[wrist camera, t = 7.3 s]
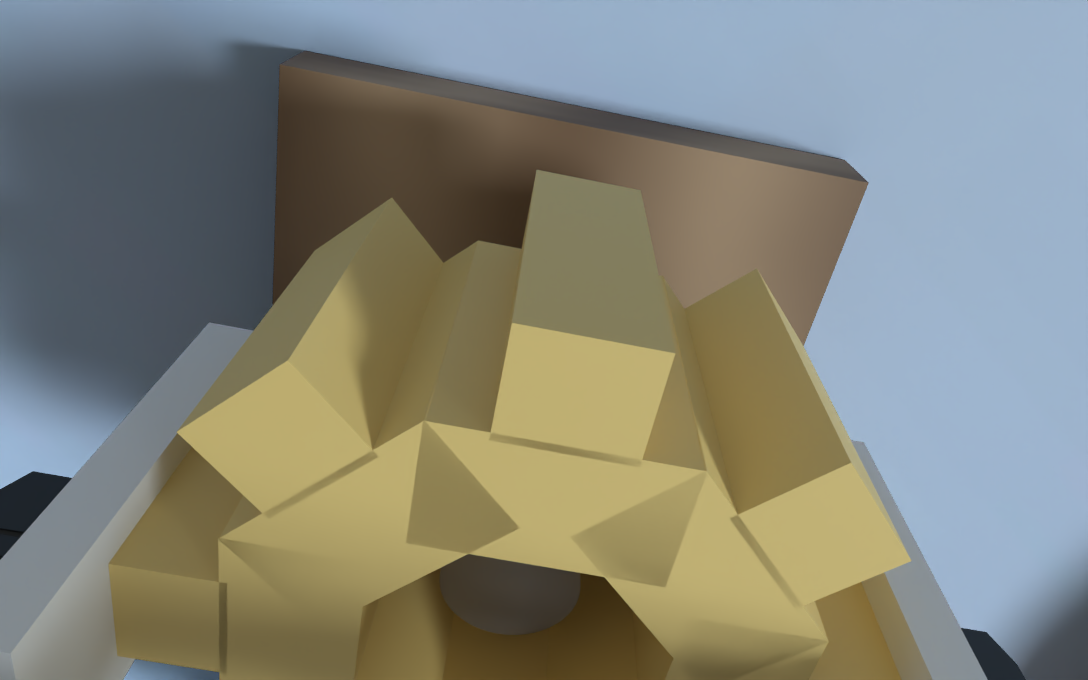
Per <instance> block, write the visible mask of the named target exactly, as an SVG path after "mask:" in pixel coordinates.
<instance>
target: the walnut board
mask: <svg viewBox="0 0 1088 680" xmlns="http://www.w3.org/2000/svg"><path fill="white" fill-rule="evenodd" d="M536 170H541V171H546V172H551V173H556V174H561V175H566V176H571V177H576V178H581V179H586V180H591V181H596V182H601V183H606V184H611V185H616V186H621V187H626V188H631V189H636V190H641V194H642V199H643V204H644V208H645V213H646V218H647V222H648V227H649V232H650V236H651V241H652V246H653V251H654V255H655V260H656V265H657V269H658V274H659V275H660V276H664V278H665V280H666V282H667V283H668V285H669V286H670V288H671V289H672V291H673V292H674V294H675V295H676V297H677V298H678V300H679V301H680V303H681V304H682V306H683V307H684V309H685V308H687V307H689V306H690V305H692V304H694V303H696V302H698V301H699V300H701V299H703V298H705V297H707V296H708V295H710V294H712V293H714V292H716V291H717V290H719V289H721V288H723V287H725V286H726V285H728V284H730V283H732V282H734V281H735V280H737V279H739V278H741V277H743V276H744V275H746V274H748V273H750V272H751V271H753V270H755V269H758V271H759V273H760V274H761V276H762V278H763V279H764V281H765V283H766V284H767V286H768V288H769V289H770V291H771V293H772V294H773V296H774V298H775V299H776V301H777V303H778V304H779V306H780V308H781V309H782V311H783V313H784V314H785V316H786V318H787V319H788V321H789V323H790V324H791V326H792V328H793V329H794V331H795V333H796V334H797V336H798V338H799V340H800V341H801V343H802V345H803V346H804V343H805V341H806V338H807V336H808V333H809V331H810V328H811V326H812V323H813V321H814V318H815V316H816V313H817V311H818V308H819V306H820V303H821V301H822V298H823V296H824V293H825V291H826V288H827V286H828V283H829V281H830V278H831V276H832V273H833V271H834V268H835V266H836V263H837V261H838V258H839V256H840V253H841V251H842V248H843V246H844V243H845V241H846V238H847V236H848V233H849V230H850V228H851V225H852V223H853V220H854V218H855V215H856V213H857V210H858V208H859V205H860V203H861V200H862V198H863V195H864V193H865V190H866V188H867V185H868V182H867V181H866V180H865V179H864V178H863V177H862V176H861V175H860V174H859V173H858V172H857V171H856V170H855V169H854V168H853V167H852V166H851V165H849V164H848V163H847V162H846V161H845V160H842V159H837V158H832V157H827V156H822V155H817V154H812V153H807V152H802V151H797V150H792V149H787V148H783V147H778V146H773V145H768V144H763V143H758V142H753V141H748V140H743V139H738V138H733V137H728V136H723V135H718V134H713V133H708V132H703V131H699V130H694V129H689V128H684V127H679V126H674V125H669V124H664V123H659V122H654V121H649V120H644V119H639V118H634V117H629V116H624V115H619V114H615V113H610V112H605V111H600V110H595V109H590V108H585V107H580V106H575V105H570V104H565V103H560V102H555V101H550V100H545V99H540V98H535V97H531V96H526V95H521V94H516V93H511V92H506V91H501V90H496V89H491V88H486V87H481V86H476V85H471V84H466V83H461V82H456V81H451V80H446V79H442V78H437V77H432V76H427V75H422V74H417V73H412V72H407V71H402V70H397V69H392V68H387V67H382V66H377V65H372V64H367V63H362V62H358V61H353V60H348V59H343V58H338V57H333V56H328V55H323V54H318V53H313V52H308V51H303V52H301V53H300V54H298V55H296V56H294V57H292V58H290V59H289V60H287V61H285V62H283V63H281V64H280V71H279V105H278V139H277V173H276V206H275V240H274V274H273V305H274V303H275V302H276V301H277V299H278V298H279V297H280V295H281V294H282V293H283V292H284V290H285V289H286V288H287V286H288V285H289V284H290V282H291V281H292V280H293V278H294V277H295V276H296V274H297V273H298V272H299V271H300V269H301V268H302V267H303V265H304V264H305V263H306V261H307V260H308V259H309V257H310V256H311V255H312V254H313V252H314V251H315V250H316V249H318V248H319V247H321V246H322V245H324V244H325V243H327V242H328V241H329V240H331V239H332V238H334V237H335V236H337V235H338V234H340V233H341V232H342V231H344V230H345V229H347V228H348V227H350V226H351V225H353V224H354V223H356V222H357V221H358V220H360V219H361V218H363V217H364V216H366V215H367V214H369V213H370V212H371V211H373V210H374V209H376V208H377V207H379V206H380V205H382V204H383V203H385V202H386V201H387V200H389V199H390V198H393V199H394V201H395V202H396V203H397V204H398V206H399V207H400V208H401V209H402V211H403V212H404V213H405V215H406V216H407V217H408V218H409V220H410V221H411V222H412V223H413V225H414V226H415V227H416V229H417V230H418V231H419V232H420V234H421V235H422V236H423V237H424V239H425V240H426V241H427V242H428V244H429V245H430V246H431V248H432V249H433V250H434V251H435V253H436V254H437V255H438V256H439V258H440V259H441V260H442V262H443V263H444V262H446V261H447V260H449V259H450V258H452V257H453V256H455V255H457V254H458V253H460V252H461V251H463V250H464V249H466V248H467V247H469V246H471V245H472V244H474V243H475V242H477V241H478V240H479V241H483V242H489V243H494V244H499V245H504V246H509V247H514V248H520V249H522V244H523V238H524V233H525V228H526V223H527V217H528V212H529V207H530V202H531V196H532V191H533V186H534V181H535V176H536ZM439 582H440V589H441V593H442V595H443V598H444V600H445V602H446V603H447V605H448V606H449V607H450V609H451V610H452V611H453V612H454V613H455V614H456V615H457V616H459V617H460V618H461V619H463V620H464V621H465V622H467V623H469V624H471V625H473V626H475V627H477V628H479V629H482V630H485V631H488V632H492V633H497V634H505V635H523V634H530V633H535V632H539V631H542V630H545V629H547V628H550V627H552V626H554V625H555V624H557V623H559V622H560V621H562V620H563V619H564V618H565V617H566V616H567V615H568V614H569V613H570V612H571V611H572V610H573V608H574V606H575V605H576V603H577V601H578V598H579V594H580V573H578V572H572V571H566V570H560V569H554V568H548V567H542V566H537V565H531V564H525V563H519V562H513V561H507V560H501V559H496V558H490V557H484V556H478V555H472V554H467V555H465V556H463V557H461V558H459V559H457V560H455V561H453V562H451V563H449V564H447V565H445V566H443V567H441V571H440V579H439Z"/></svg>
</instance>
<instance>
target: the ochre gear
mask: <svg viewBox="0 0 1088 680" xmlns="http://www.w3.org/2000/svg"><path fill="white" fill-rule="evenodd" d="M177 433H178V434H179V435H180V436H181V437H182V438H183V439H184V440H185V441H186V442H187V443H189V444H190V445H191V446H192V447H191V449H190V450H189V451H188V453H187V454H186V456H185V457H184V458H183V460H182V461H181V463H180V464H179V465H178V467H177V468H176V470H175V471H174V472H173V474H172V475H171V477H170V478H169V479H168V481H167V482H166V484H165V485H164V486H163V488H162V489H161V491H160V492H159V493H158V495H157V496H156V498H155V499H154V500H153V502H152V503H151V505H150V506H149V507H148V509H147V510H146V512H145V513H144V515H143V516H142V517H141V519H140V520H139V522H138V523H137V524H136V526H135V527H134V529H133V530H132V531H131V533H130V534H129V536H128V537H127V538H126V540H125V541H124V543H123V544H122V545H121V547H120V548H119V550H118V551H117V552H116V554H115V555H114V557H113V558H112V559H111V561H110V562H109V564H108V566H109V576H110V586H111V597H112V607H113V617H114V627H115V637H116V647H117V656H120V657H127V658H133V659H139V660H146V661H152V662H158V663H164V664H171V665H177V666H183V667H190V668H196V669H202V670H208V671H215V672H219V680H901V677H900V675H899V672H898V670H897V668H896V665H895V663H894V660H893V658H892V656H891V653H890V651H889V648H888V646H887V643H886V641H885V639H884V636H883V634H882V631H881V629H880V626H879V624H878V622H877V619H876V617H875V614H874V612H873V610H872V607H871V605H870V602H869V600H868V597H867V595H866V593H865V590H864V588H863V585H862V583H861V582H862V581H864V580H867V579H869V578H872V577H874V576H877V575H879V574H881V573H884V572H886V571H889V570H891V569H894V568H896V567H898V566H901V565H903V564H906V563H908V562H911V559H910V557H909V555H908V553H907V551H906V549H905V547H904V545H903V543H902V541H901V539H900V537H899V535H898V533H897V531H896V529H895V527H894V525H893V523H892V521H891V519H890V517H889V515H888V513H887V511H886V509H885V507H884V505H883V503H882V501H881V499H880V497H879V495H878V493H877V491H876V489H875V487H874V485H873V483H872V481H871V479H870V477H869V475H868V473H867V472H866V470H865V468H864V466H863V464H862V462H861V460H860V458H859V456H858V454H857V452H856V450H855V448H854V446H853V444H852V442H851V440H850V438H849V436H848V434H847V432H846V430H845V428H844V426H843V424H842V422H841V420H840V418H839V416H838V414H837V412H836V410H835V408H834V406H833V404H832V402H831V400H830V398H829V396H828V394H827V392H826V390H825V388H824V386H823V384H822V382H821V380H820V378H819V376H818V374H817V372H816V371H815V369H814V367H813V365H812V363H811V361H810V359H809V357H808V355H807V353H806V351H805V349H804V347H803V345H802V343H801V341H800V340H799V338H798V336H797V334H796V333H795V331H794V329H793V328H792V326H791V324H790V323H789V321H788V319H787V318H786V316H785V314H784V313H783V311H782V309H781V308H780V306H779V304H778V303H777V301H776V299H775V298H774V296H773V294H772V293H771V291H770V289H769V288H768V286H767V284H766V283H765V281H764V279H763V278H762V276H761V274H760V273H759V271H758V269H755V270H753V271H751V272H750V273H748V274H746V275H744V276H743V277H741V278H739V279H737V280H735V281H734V282H732V283H730V284H728V285H726V286H725V287H723V288H721V289H719V290H717V291H716V292H714V293H712V294H710V295H708V296H707V297H705V298H703V299H701V300H699V301H698V302H696V303H694V304H692V305H690V306H689V307H687V308H685V309H684V307H683V306H682V304H681V303H680V301H679V300H678V298H677V297H676V295H675V294H674V292H673V291H672V289H671V288H670V286H669V285H668V283H667V282H666V280H665V278H664V276H660V275H659V274H658V269H657V265H656V260H655V255H654V251H653V246H652V241H651V236H650V232H649V227H648V222H647V218H646V213H645V208H644V204H643V199H642V194H641V190H636V189H631V188H626V187H621V186H616V185H611V184H606V183H601V182H596V181H591V180H586V179H581V178H576V177H571V176H566V175H561V174H556V173H551V172H546V171H541V170H536V176H535V181H534V186H533V191H532V196H531V202H530V207H529V212H528V217H527V223H526V228H525V233H524V238H523V244H522V249H520V248H514V247H509V246H504V245H499V244H494V243H489V242H483V241H479V240H478V241H477V242H475V243H474V244H472V245H471V246H469V247H467V248H466V249H464V250H463V251H461V252H460V253H458V254H457V255H455V256H453V257H452V258H450V259H449V260H447V261H446V262H444V263H443V262H442V260H441V259H440V258H439V256H438V255H437V254H436V253H435V251H434V250H433V249H432V248H431V246H430V245H429V244H428V242H427V241H426V240H425V239H424V237H423V236H422V235H421V234H420V232H419V231H418V230H417V229H416V227H415V226H414V225H413V223H412V222H411V221H410V220H409V218H408V217H407V216H406V215H405V213H404V212H403V211H402V209H401V208H400V207H399V206H398V204H397V203H396V202H395V201H394V199H393V198H390V199H389V200H387V201H386V202H385V203H383V204H382V205H380V206H379V207H377V208H376V209H374V210H373V211H371V212H370V213H369V214H367V215H366V216H364V217H363V218H361V219H360V220H358V221H357V222H356V223H354V224H353V225H351V226H350V227H348V228H347V229H345V230H344V231H342V232H341V233H340V234H338V235H337V236H335V237H334V238H332V239H331V240H329V241H328V242H327V243H325V244H324V245H322V246H321V247H319V248H318V249H316V250H315V251H314V252H313V254H312V255H311V256H310V257H309V259H308V260H307V261H306V263H305V264H304V265H303V267H302V268H301V269H300V271H299V272H298V273H297V274H296V276H295V277H294V278H293V280H292V281H291V282H290V284H289V285H288V286H287V288H286V289H285V290H284V292H283V293H282V294H281V295H280V297H279V298H278V299H277V301H276V302H275V303H274V305H273V306H272V307H271V309H270V310H269V311H268V313H267V314H266V315H265V316H264V318H263V319H262V320H261V322H260V323H259V324H258V326H257V327H256V328H255V330H254V331H253V332H252V334H251V335H250V336H249V337H248V339H247V340H246V341H245V343H244V344H243V345H242V347H241V348H240V349H239V351H238V352H237V353H236V354H235V356H234V357H233V358H232V360H231V361H230V362H229V364H228V365H227V366H226V368H225V369H224V370H223V372H222V373H221V374H220V375H219V377H218V378H217V379H216V381H215V382H214V383H213V385H212V386H211V387H210V389H209V390H208V391H207V393H206V394H205V395H204V396H203V398H202V399H201V400H200V402H199V403H198V404H197V406H196V407H195V408H194V410H193V411H192V412H191V413H190V415H189V416H188V417H187V419H186V420H185V421H184V423H183V424H182V425H181V427H180V428H179V429H178V431H177ZM467 554H472V555H478V556H484V557H490V558H496V559H501V560H507V561H513V562H519V563H525V564H531V565H537V566H542V567H548V568H554V569H560V570H566V571H572V572H578V573H580V594H579V598H578V601H577V603H576V605H575V606H574V608H573V610H572V611H571V612H570V613H569V614H568V615H567V616H566V617H565V618H564V619H563V620H562V621H560V622H559V623H557V624H555V625H554V626H552V627H550V628H547V629H545V630H542V631H539V632H535V633H530V634H523V635H505V634H497V633H492V632H488V631H485V630H482V629H479V628H477V627H475V626H473V625H471V624H469V623H467V622H465V621H464V620H463V619H461V618H460V617H459V616H457V615H456V614H455V613H454V612H453V611H452V610H451V609H450V607H449V606H448V605H447V603H446V602H445V600H444V598H443V595H442V593H441V589H440V582H439V579H440V571H441V567H443V566H445V565H447V564H449V563H451V562H453V561H455V560H457V559H459V558H461V557H463V556H465V555H467Z"/></svg>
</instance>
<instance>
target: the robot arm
mask: <svg viewBox="0 0 1088 680" xmlns="http://www.w3.org/2000/svg"><path fill="white" fill-rule="evenodd" d="M252 332H253V330H248V329H242V328H237V327H232V326H226V325H221V324H215V323H210V322H209V323H208V324H207V325H206V327H205V328H204V329H203V330H202V331H201V332H200V333H199V335H198V336H197V337H196V338H195V339H194V340H193V341H192V343H191V344H190V345H189V346H188V347H187V348H186V349H185V351H184V352H183V353H182V354H181V355H180V356H179V357H178V358H177V360H176V361H175V362H174V363H173V364H172V365H171V366H170V368H169V369H168V370H167V371H166V372H165V373H164V374H163V376H162V377H161V378H160V379H159V380H158V381H157V382H156V384H155V385H154V386H153V387H152V388H151V389H150V390H149V391H148V393H147V394H146V395H145V396H144V397H143V398H142V399H141V401H140V402H139V403H138V404H137V405H136V406H135V407H134V409H133V410H132V411H131V412H130V413H129V414H128V415H127V417H126V418H125V419H124V420H123V421H122V422H121V423H120V424H119V426H118V427H117V428H116V429H115V430H114V431H113V432H112V434H111V435H110V436H109V437H108V438H107V439H106V440H105V442H104V443H103V444H102V445H101V446H100V447H99V448H98V449H97V451H96V452H95V453H94V454H93V455H92V456H91V457H90V459H89V460H88V461H87V462H86V463H85V464H84V465H83V467H82V468H81V469H80V470H79V471H78V472H77V473H76V475H75V476H74V477H73V478H69V477H63V476H57V475H51V474H45V473H39V472H34V471H33V472H31V473H29V474H27V475H25V476H24V477H22V478H20V479H18V480H16V481H15V482H13V483H11V484H9V485H7V486H6V487H4V488H2V489H0V680H123V679H124V677H125V676H126V674H127V672H128V671H129V669H130V667H131V665H132V664H133V662H134V660H135V659H133V658H127V657H120V656H117V647H116V637H115V627H114V617H113V607H112V597H111V586H110V576H109V566H108V564H109V562H110V561H111V559H112V558H113V557H114V555H115V554H116V552H117V551H118V550H119V548H120V547H121V545H122V544H123V543H124V541H125V540H126V538H127V537H128V536H129V534H130V533H131V531H132V530H133V529H134V527H135V526H136V524H137V523H138V522H139V520H140V519H141V517H142V516H143V515H144V513H145V512H146V510H147V509H148V507H149V506H150V505H151V503H152V502H153V500H154V499H155V498H156V496H157V495H158V493H159V492H160V491H161V489H162V488H163V486H164V485H165V484H166V482H167V481H168V479H169V478H170V477H171V475H172V474H173V472H174V471H175V470H176V468H177V467H178V465H179V464H180V463H181V461H182V460H183V458H184V457H185V456H186V454H187V453H188V451H189V450H190V449H191V447H192V446H191V445H190V444H189V443H187V442H186V441H185V440H184V439H183V438H182V437H181V436H180V435H179V434H178V433H177V431H178V429H179V428H180V427H181V425H182V424H183V423H184V421H185V420H186V419H187V417H188V416H189V415H190V413H191V412H192V411H193V410H194V408H195V407H196V406H197V404H198V403H199V402H200V400H201V399H202V398H203V396H204V395H205V394H206V393H207V391H208V390H209V389H210V387H211V386H212V385H213V383H214V382H215V381H216V379H217V378H218V377H219V375H220V374H221V373H222V372H223V370H224V369H225V368H226V366H227V365H228V364H229V362H230V361H231V360H232V358H233V357H234V356H235V354H236V353H237V352H238V351H239V349H240V348H241V347H242V345H243V344H244V343H245V341H246V340H247V339H248V337H249V336H250V335H251V334H252ZM851 442H852V444H853V446H854V448H855V450H856V452H857V454H858V456H859V458H860V460H861V462H862V464H863V466H864V468H865V470H866V472H867V473H868V475H869V477H870V479H871V481H872V483H873V485H874V487H875V489H876V491H877V493H878V495H879V497H880V499H881V501H882V503H883V505H884V507H885V509H886V511H887V513H888V515H889V517H890V519H891V521H892V523H893V525H894V527H895V529H896V531H897V533H898V535H899V537H900V539H901V541H902V543H903V545H904V547H905V549H906V551H907V553H908V555H909V557H910V559H911V562H908V563H906V564H903V565H901V566H898V567H896V568H894V569H891V570H889V571H886V572H884V573H881V574H879V575H877V576H874V577H872V578H869V579H867V580H864V581H862V582H861V583H862V585H863V588H864V590H865V593H866V595H867V597H868V600H869V602H870V605H871V607H872V610H873V612H874V614H875V617H876V619H877V622H878V624H879V626H880V629H881V631H882V634H883V636H884V639H885V641H886V643H887V646H888V648H889V651H890V653H891V656H892V658H893V660H894V663H895V665H896V668H897V670H898V672H899V675H900V677H901V680H1026V679H1025V678H1024V676H1023V674H1022V672H1021V671H1020V669H1019V667H1018V665H1017V664H1016V663H1015V662H1014V661H1013V660H1012V659H1011V658H1010V657H1009V656H1008V654H1007V653H1006V652H1005V651H1004V650H1003V649H1002V648H1001V647H1000V646H999V645H998V644H997V643H996V642H995V641H994V640H993V639H992V638H991V637H990V636H989V635H988V633H987V632H982V631H976V630H970V629H964V628H960V626H959V624H958V622H957V620H956V618H955V616H954V614H953V612H952V610H951V609H950V607H949V605H948V603H947V601H946V599H945V597H944V595H943V593H942V591H941V589H940V587H939V586H938V584H937V582H936V580H935V578H934V576H933V574H932V572H931V570H930V568H929V566H928V564H927V563H926V561H925V559H924V557H923V555H922V553H921V551H920V549H919V547H918V545H917V543H916V541H915V540H914V538H913V536H912V534H911V532H910V530H909V528H908V526H907V524H906V522H905V520H904V518H903V517H902V515H901V513H900V511H899V509H898V507H897V505H896V503H895V501H894V499H893V497H892V496H891V494H890V492H889V490H888V488H887V486H886V484H885V482H884V480H883V478H882V476H881V474H880V473H879V471H878V469H877V467H876V465H875V463H874V461H873V459H872V457H871V455H870V453H869V451H868V450H867V448H866V446H865V444H864V442H858V441H853V440H851Z"/></svg>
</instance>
